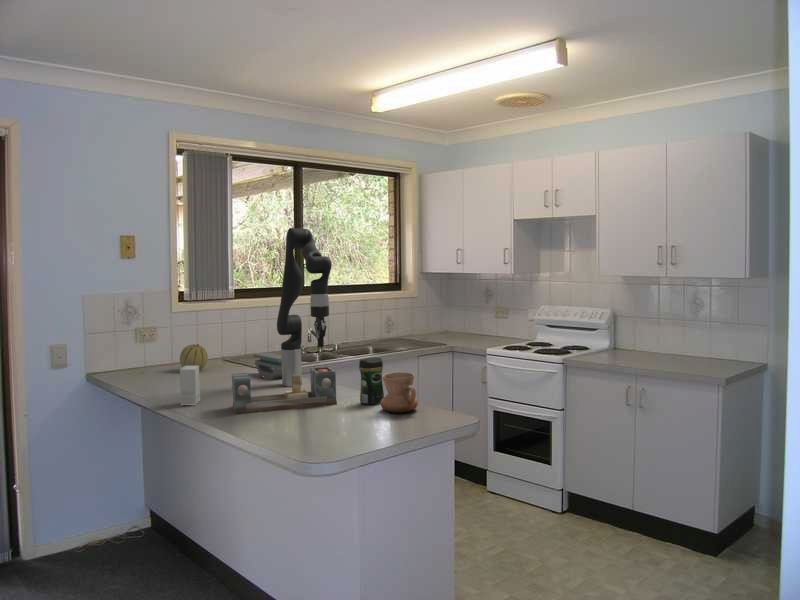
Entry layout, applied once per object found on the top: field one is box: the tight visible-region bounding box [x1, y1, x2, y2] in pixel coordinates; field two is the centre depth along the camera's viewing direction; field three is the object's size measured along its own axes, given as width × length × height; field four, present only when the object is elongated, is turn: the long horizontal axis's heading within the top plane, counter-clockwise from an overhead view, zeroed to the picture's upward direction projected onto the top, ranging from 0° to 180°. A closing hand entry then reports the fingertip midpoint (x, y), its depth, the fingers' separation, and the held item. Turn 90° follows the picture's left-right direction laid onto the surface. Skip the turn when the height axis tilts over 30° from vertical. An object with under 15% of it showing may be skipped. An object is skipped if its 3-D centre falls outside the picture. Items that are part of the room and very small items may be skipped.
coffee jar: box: [358, 357, 385, 405], centre depth 260 cm, size 10×8×19 cm
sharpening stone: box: [253, 351, 282, 380], centre depth 325 cm, size 25×8×11 cm, turn 41°
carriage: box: [284, 374, 308, 400], centre depth 260 cm, size 8×8×10 cm
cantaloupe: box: [179, 343, 209, 371], centre depth 346 cm, size 15×15×15 cm
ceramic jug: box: [379, 371, 419, 414], centre depth 245 cm, size 18×14×14 cm
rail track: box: [231, 366, 338, 414], centre depth 259 cm, size 14×40×14 cm, turn 109°
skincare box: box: [179, 365, 201, 405], centre depth 265 cm, size 8×7×16 cm
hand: (320, 346), depth 263 cm, fingers closed
